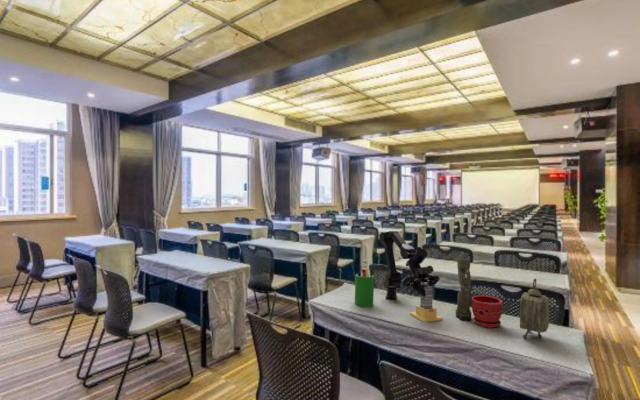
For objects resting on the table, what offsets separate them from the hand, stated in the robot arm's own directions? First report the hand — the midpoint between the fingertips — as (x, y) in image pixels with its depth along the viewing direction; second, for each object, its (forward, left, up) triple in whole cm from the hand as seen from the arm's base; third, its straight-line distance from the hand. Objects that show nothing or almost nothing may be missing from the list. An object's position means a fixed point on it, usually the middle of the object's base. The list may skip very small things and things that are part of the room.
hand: (428, 296), depth 167 cm
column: (-1, -1, -7) cm, 7 cm away
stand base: (-1, -1, -11) cm, 11 cm away
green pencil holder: (-12, -33, -11) cm, 37 cm away
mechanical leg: (-8, +17, -11) cm, 22 cm away
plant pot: (0, +26, -11) cm, 28 cm away
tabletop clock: (+10, +43, -11) cm, 46 cm away
